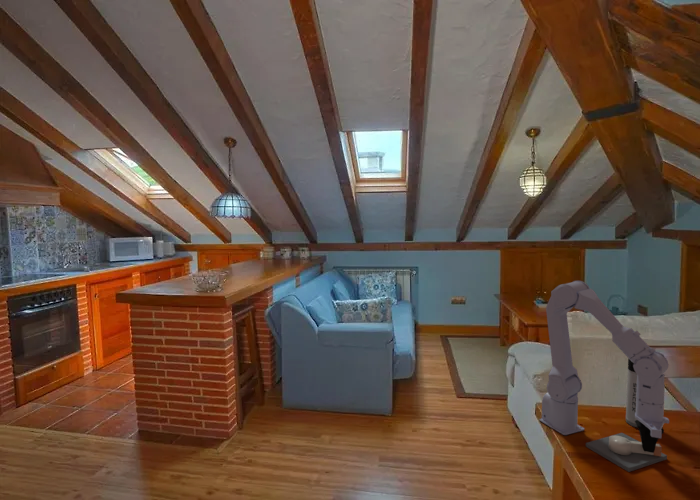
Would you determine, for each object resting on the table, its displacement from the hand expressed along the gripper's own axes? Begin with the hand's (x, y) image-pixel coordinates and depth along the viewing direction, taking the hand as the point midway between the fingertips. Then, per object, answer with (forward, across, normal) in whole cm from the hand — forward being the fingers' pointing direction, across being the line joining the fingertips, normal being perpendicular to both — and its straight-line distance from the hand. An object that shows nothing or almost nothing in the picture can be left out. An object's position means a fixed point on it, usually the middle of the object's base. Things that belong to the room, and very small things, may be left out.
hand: (648, 450), depth 104 cm
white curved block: (+1, +1, +3) cm, 3 cm away
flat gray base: (+2, +2, +5) cm, 6 cm away
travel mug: (+3, +21, -2) cm, 21 cm away
